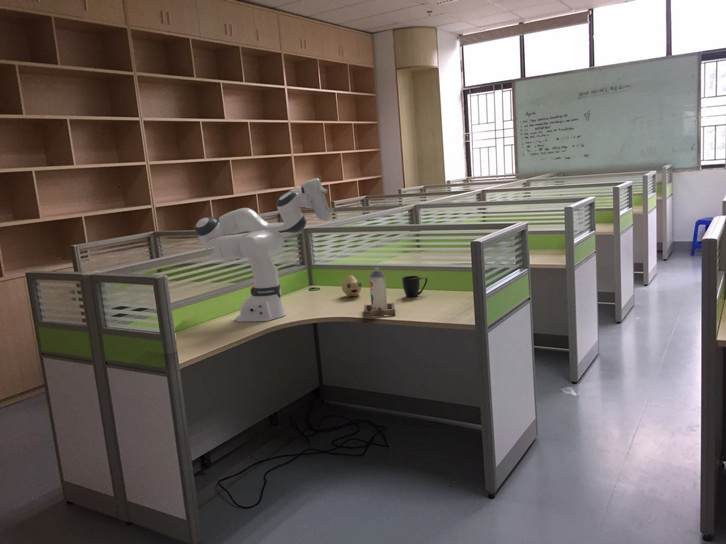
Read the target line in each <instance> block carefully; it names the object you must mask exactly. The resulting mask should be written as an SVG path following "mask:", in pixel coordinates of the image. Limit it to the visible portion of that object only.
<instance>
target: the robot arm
mask: <svg viewBox="0 0 726 544" xmlns="http://www.w3.org/2000/svg"><path fill="white" fill-rule="evenodd" d="M327 193H328V189H327V188H325V187H324V186H323V185H322V183H321V181H320V179H319V178H317V177H315V178H312V179H309V180H306V181H304V182H302V183H301V184H300V188H298V187H297V188H292V189H290V190H289V191H287V192H284V193H283V194H281V195H280V196H279V197H278V199H277V201H276V204H275V205H276V208H277V210H278V213H279V214H280V216H281V219H282V221H283V222H274V223H270V222H267V221H265V220H264V219H263V218H262V217H261V216H260V215H259V214H258V213H257V211H255V210H254V209H252V208H249V207H242V208H237V209H236V210H232V211H228V212H227V213H225V214H223V215H221V216H220V217H219V218H218V217H213V216H207V217H206V216H205V217H202V218H200V219H199V220H198V221H197V222H196V223H195V225H194V231H195V233H196V235H197V236H198V238H199V240H200V242H201V244H202V245H203V247H204V250H205V249H208V248H212V247H214V248H213V250H214V251H213V253H212V255H210V256H207V257H208V258H210V259H211V260H218V261H228V260H237V259H245V258H246V259H247V261H248V262H249V265H250V267H251V271H252V275H253V276H252V277H253V285H252V286H251V287H250V296H249V297H248V298H247V299H246V300H245V301H244V302H243V303H242V304H241V306H240V308H239V309H240V310H239V311H240V312H239V314H237V316H236V317H235V321H236V322H237V323H238V322H239V323H240V322H241V323H245V322H246V323H247V322H249V323H250V322H269V321H272V320H275V319H276V320H277V319H279V318H282V317H284V316H286V311H285V308H284V305H283V301H282V288H281V284H280V280H279V273H278V272H279V270H278V269H279V268H278V267H277V266H276V265H275V264H274V263H273V260H272V259H271V256H270V255H273V254H275V253H276V252H278V251H279V250H281V249H282V247H283V246H284V241H285V239H284V236H283V235H282V234H283V233H286V234H287V233H290V234H291V233H293V234H295V233H299V232H302V231H303V230H304V229H305V227H306V225H307V219H306V217H305V215H304V214H303V212H302V209H301V208H306V209H313V210H314V212H315V216H316V218H317V219H318V220H320V221H323V222H327V221H329V220H331V219H332V213H334V208H332V207H330V208H329V205H328V201H327V198H326V195H325V194H327ZM300 207H301V208H300Z"/></svg>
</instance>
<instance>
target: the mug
mask: <svg viewBox="0 0 726 544" xmlns="http://www.w3.org/2000/svg"><path fill="white" fill-rule="evenodd" d="M422 279H425V281H424V283H423V284H424V285H423V286H422V288H421V290H420V285H421V284H420V280H422ZM401 281H402V287H403V291H404V294H405V297H406V298H409V299H410V298H411V299H412V298H413V297H414V298H417V297H418V296H420V295H421V294H422V293H423V291H424V289H425V287H426V285H427V282H428V278H427V277H426V276H423V277H420V276H419V275H407V276H403V277H402V280H401Z"/></svg>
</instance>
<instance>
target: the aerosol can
mask: <svg viewBox="0 0 726 544" xmlns="http://www.w3.org/2000/svg"><path fill="white" fill-rule="evenodd" d="M379 269H380V268H379V267H374V270H373V272H371V274H369V287H370V288H369V289H370V291H369V292H370V303H371V304H370V305H372V311H375V310H389V309H387V303H388V298H387V285H386V283H387V282H386V275H385V273H383V272H382V271H381V270H379Z"/></svg>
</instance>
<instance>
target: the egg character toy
mask: <svg viewBox="0 0 726 544" xmlns="http://www.w3.org/2000/svg"><path fill="white" fill-rule="evenodd" d="M341 290H342V291H343V293H344V294H345V295H346V298H349V297H354V296H356V297H360V293H361V290H362V282H360V281H359V280H358V279H357V278H356V277H355V276H354V275H350V274H349V275H348V276H346V277H345V278H344V279H343V282H342V284H341Z"/></svg>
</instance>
